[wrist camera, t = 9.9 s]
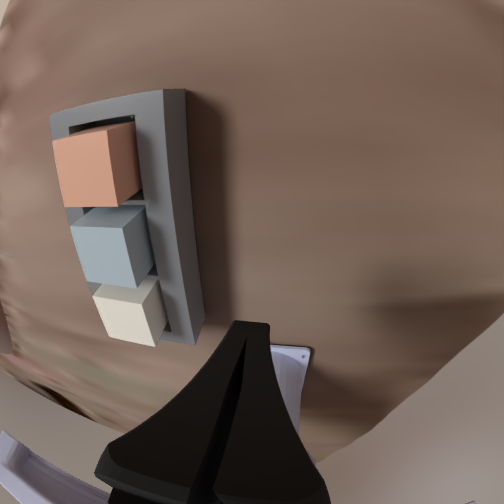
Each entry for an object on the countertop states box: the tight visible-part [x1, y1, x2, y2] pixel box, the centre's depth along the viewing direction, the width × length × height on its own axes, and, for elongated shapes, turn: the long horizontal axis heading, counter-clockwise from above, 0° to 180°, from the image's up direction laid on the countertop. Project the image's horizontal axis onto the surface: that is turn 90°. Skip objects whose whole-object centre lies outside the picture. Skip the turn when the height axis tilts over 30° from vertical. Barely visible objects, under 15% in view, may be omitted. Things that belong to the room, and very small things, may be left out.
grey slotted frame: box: [49, 89, 206, 345], centre depth 20 cm, size 19×9×3 cm, turn 0°
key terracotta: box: [52, 121, 143, 207], centre depth 15 cm, size 4×4×4 cm
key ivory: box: [93, 278, 169, 347], centre depth 21 cm, size 4×4×4 cm
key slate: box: [70, 205, 156, 289], centre depth 18 cm, size 4×4×4 cm
